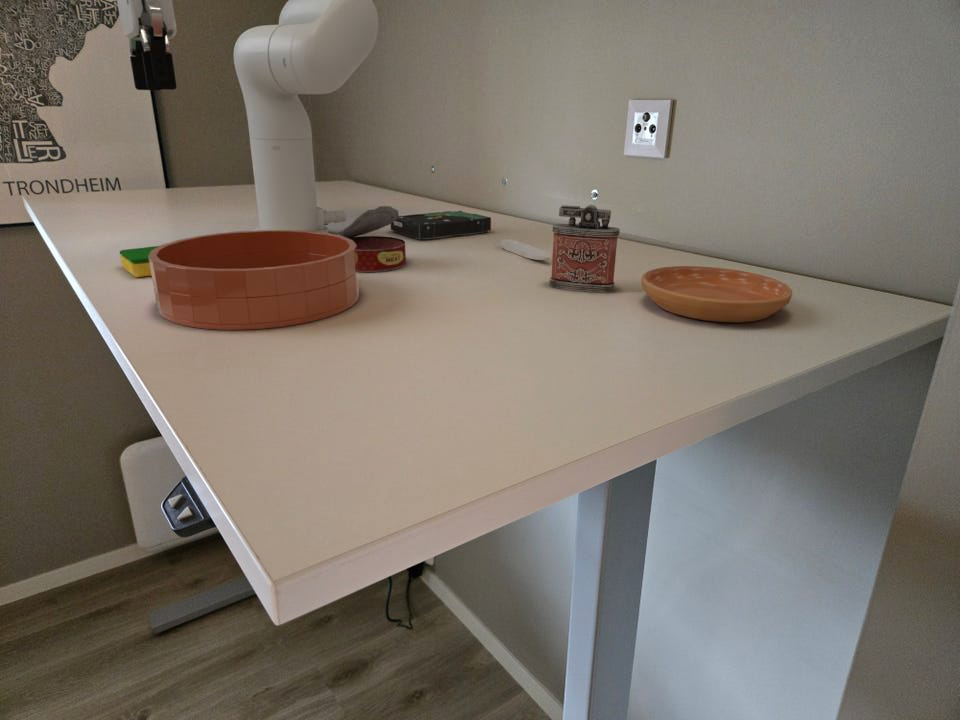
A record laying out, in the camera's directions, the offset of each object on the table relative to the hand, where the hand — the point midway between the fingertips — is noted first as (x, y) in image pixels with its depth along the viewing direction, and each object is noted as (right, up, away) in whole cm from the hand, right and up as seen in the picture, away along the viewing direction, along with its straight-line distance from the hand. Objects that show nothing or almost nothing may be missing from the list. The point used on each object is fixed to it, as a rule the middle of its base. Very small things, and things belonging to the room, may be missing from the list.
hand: (155, 89), depth 82 cm
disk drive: (+34, -12, +32) cm, 49 cm away
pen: (+48, -19, +15) cm, 54 cm away
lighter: (+54, -25, -2) cm, 60 cm away
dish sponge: (+1, -22, +6) cm, 23 cm away
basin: (+16, -27, -8) cm, 33 cm away
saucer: (+67, -28, -9) cm, 74 cm away
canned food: (+26, -21, +9) cm, 34 cm away
